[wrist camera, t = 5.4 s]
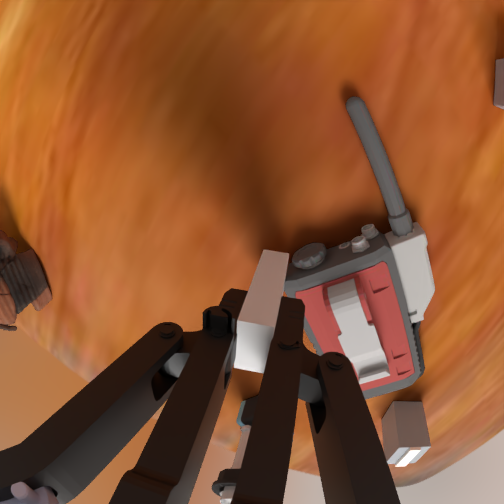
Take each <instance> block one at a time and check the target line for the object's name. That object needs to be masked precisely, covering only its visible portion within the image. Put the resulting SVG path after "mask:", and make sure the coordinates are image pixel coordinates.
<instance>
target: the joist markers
mask: <svg viewBox="0 0 504 504" xmlns="http://www.w3.org/2000/svg"><path fill="white" fill-rule="evenodd" d="M493 105H494V106H497V107H499V108H501V109H504V58H503V59H498V60H496V70H495V91H494V103H493ZM382 432H383V445H384V454H385V457H386V460H387V463H388V464H395V467H398V466H406V465H407V464H408V463H415V462H416V461H417V460H418V459H419V458H420V457H421V456H422V455H423V454H424V453H425V452H426V451H427V450H428V449H429V448H430V447H431V444H430V438H429V433H428V428H427V422H426V417H425V412H424V408H423V403H422V402H409V401H393V402H392V404H391V405H390V407H389V409H388V410H387V412H386V413H385V415H384V417H383V418H382Z"/></svg>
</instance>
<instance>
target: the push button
mask: <svg viewBox="0 0 504 504" xmlns="http://www.w3.org/2000/svg"><path fill="white" fill-rule="evenodd" d="M258 396H259V395H258ZM258 396H255V397H252V398H250V399H247V400H244V401H242V402H241V406H240V410H239V413H238V417H237V424H238V425H240V426H241V428H240V429H241V431H242V434H241V437H240V441H239V445H238V448H237V452H236V455H235V459H234V462H233V466H232V467H231V469H225V470H223V471H221V472H220V473H219V477H218V480H217V481H215V482H214V483H213V485H212V490H213V492H214V493H216V494H217V495H219V496H221V499H220V502H221V504H230V503H231V500H232V498H233V494H234V491H235V487H236V483H237V480H238V476H239V472H240V468H241V464H242V461H243V457H244V453H245V449H246V445H247V441H248V437H249V433H250V429H251V425H252V421H253V417H254V413H255V409H256V404H257V400H258ZM292 442H293V441H292Z"/></svg>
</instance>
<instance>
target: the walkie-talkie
mask: <svg viewBox="0 0 504 504" xmlns="http://www.w3.org/2000/svg"><path fill="white" fill-rule="evenodd" d="M346 109H347V111H348V113H349V115H350V118H351V120H352V122H353V124H354V126H355V129H356V131H357V133H358V135H359V138H360V140H361V142H362V145H363V147H364V149H365V152H366V154H367V157H368V159H369V162H370V164H371V167H372V169H373V172H374V174H375V177H376V179H377V182H378V185H379V187H380V190H381V193H382V196H383V199H384V201H385V204H386V207H387V210H388V213H389V214H388V216H387V217H388V220H389V223H390V226H391V229H392V231H391V232H388V233H386V234H383V233H381V232H379V231H378V230H377V229H375V226H374V224H368V225H365V226H363V227H362V228H361V230H362V233H363V234H361V235H362V236H358V237H355V238H354V239H352V240H351V241H348V242H346V243H343V244H340V245H338V246H335V247H332V248H330V249H326V247H325V245H324V244H322V243H311V244H308V245H306V246H304V247H302V248H300V249H299V250H297V251H296V252H295V253H294V255H293V257H292V263H289V265H288V269H287V273H286V279H285V284H284V291H285V293H286V295H287V297H290V298H296V299H302V301H303V303H304V305H305V317H304V330H305V332H306V334H307V336H308V338H309V340H310V342H311V343H313V347H314V349H316V353H317V354H318V355H319V356H321V355H323V354H324V353H326V352H331V351H332V352H339V353H341V354H344V355H345V356H346V357H348V359H349V360H350V362H351V364H352V366H353V369H354V371H355V374H356V377H357V379H358V382H359V385H360V387H361V390H362V393H363V395H364V398H365V399H369V398H372V397H376V396H380V395H383V394H387V393H390V392H393V391H397V390H400V389H403V388H406V387H409V386H411V385H412V384H413V383H414V382H415V381H416V380H417V379H418V378H419V377H421V376H422V375H423V373H424V369H425V366H424V360H423V354H422V349H421V344H420V338H419V332H418V329H419V327H420V323H421V320H424V317H423V314H424V312H425V310H426V308H427V306H428V304H429V302H430V300H431V298H432V296H433V294H434V291H435V285H434V280H433V275H432V270H431V266H430V261H429V257H428V252H427V248H426V246H427V243H428V242H427V238H426V235H425V231H424V230H423V229H422V228H421V226H420V225H419V224H418V223H417V222H414V223H413V222H412V219H411V216H410V213H409V210H408V209H406V208H405V204H404V201H403V198H402V195H401V192H400V189H399V186H398V184H397V181H396V178H395V175H394V172H393V170H392V167H391V164H390V162H389V159H388V156H387V154H386V151H385V149H384V146H383V144H382V141H381V139H380V136H379V134H378V132H377V129H376V127H375V125H374V122H373V120H372V118H371V116H370V113H369V111H368V109H367V107H366V105H365V102H364V101H363V100H362V99H361V98H359V97H351V98H349V99H348V100H347V102H346ZM412 323H413V324H412Z"/></svg>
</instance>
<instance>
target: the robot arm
mask: <svg viewBox="0 0 504 504" xmlns="http://www.w3.org/2000/svg"><path fill="white" fill-rule="evenodd" d="M288 259H289V253H283V252H277V251H271V250H265V249H264V250H263V252H262V255H261V258H260V260H259V263H258V266H257V269H256V271H255V274H254V277H253V279H252V282H251V285H250V287H249V290H248V291H244V290H239V289H233V288H231V289H230V290H228V291H227V292H226V293H225V294H224V296H223V298H222V301H221V302H220V304H219V306H213V307H209V308H207V309H206V310H205V311H204V312H203V329H202V330H200V331H195V332H183V330H182V328H181V326H179V325H178V324H176V323H172V322H164V323H160V324H158V325H156V326H154V327H153V328H152V329H151V330H150V331H149V332H148V333H146V334H145V335H144V336H143V337H142V338H141V339H139V340H138V341H137V342H136V343H135V344H134V345H132V346H131V347H130V348H129V349H128V350H127V351H126V352H124V353H123V354H122V355H121V356H120V357H119V358H117V359H116V360H115V361H114V362H113V363H112V364H111V365H109V366H108V367H107V368H106V369H105V370H104V371H103V372H101V373H100V374H99V375H98V376H97V377H96V378H95V379H93V380H92V381H91V382H90V383H89V384H88V385H86V386H85V387H84V388H83V389H82V390H81V391H80V392H78V393H77V394H76V395H75V396H74V397H73V398H72V399H70V400H69V401H68V402H67V403H66V404H65V405H64V406H63V407H62V408H60V409H59V410H58V411H57V412H56V413H55V414H53V415H52V416H51V417H50V418H49V419H48V420H47V421H45V422H44V423H43V424H42V425H41V426H40V427H39V428H37V429H36V430H35V431H34V432H33V433H32V434H31V435H30V436H28V437H27V438H26V439H25V440H24V441H23V442H22V443H20V444H18V445H15V446H13V447H10V448H8V449H5V450H2V451H0V504H66V503H68V502H69V501H71V500H72V499H74V498H75V497H76V496H77V495H78V494H80V493H81V492H82V491H83V490H84V489H85V488H86V487H87V486H88V485H89V484H90V483H91V482H92V481H93V480H94V479H95V477H96V476H97V475H98V474H99V473H100V472H101V471H102V470H103V469H104V468H105V467H106V466H107V465H108V464H109V463H110V462H111V461H112V459H113V458H114V457H115V456H116V455H117V454H118V453H119V452H120V451H121V450H122V449H123V448H124V447H125V446H126V444H127V443H128V442H129V441H130V440H131V439H132V438H133V437H134V436H135V435H136V434H137V432H138V431H139V430H140V429H141V428H142V427H143V426H144V425H145V424H146V423H147V421H148V420H149V419H150V418H151V417H152V416H153V415H154V414H155V413H156V411H157V410H158V409H159V408H160V407H161V406H162V405H163V404H164V403H165V401H166V400H167V399H168V400H167V402H166V404H165V406H164V408H163V410H162V412H161V414H160V416H159V418H158V420H157V423H156V424H155V427H154V429H153V431H152V433H151V435H150V437H149V439H148V441H147V443H146V445H145V447H144V449H143V451H142V453H141V456H140V458H139V460H138V462H137V464H136V466H135V467H134V468H133V469H132V470H128V471H127V472H126V473H125V474H124V475H123V477H122V478H121V480H120V482H119V484H118V486H117V488H116V490H115V492H114V494H113V496H112V498H111V500H110V502H109V504H188V502H189V500H190V497H191V494H192V491H193V488H194V485H195V483H196V480H197V477H198V474H199V471H200V468H201V465H202V462H203V460H204V456H205V454H206V451H207V448H208V445H209V442H210V439H211V436H212V433H213V430H214V427H215V424H216V421H217V418H218V415H219V413H220V410H221V407H222V404H223V401H224V398H225V394H226V391H227V388H228V385H229V382H230V379H231V375H232V367H233V364H234V368H238V369H243V370H248V371H254V372H259V373H264V374H263V379H262V383H261V387H260V392H259V396H258V400H257V404H256V409H255V413H254V417H253V421H252V425H251V429H250V433H249V437H248V441H247V445H246V449H245V453H244V457H243V461H242V464H241V468H240V472H239V476H238V480H237V483H236V487H235V491H234V494H233V498H232V500H231V503H230V504H283V498H284V492H285V486H286V481H287V474H288V468H289V461H290V455H291V448H292V441H293V434H294V426H295V418H296V411H297V402H298V398H299V399H301V400H304V401H306V408H307V413H308V418H309V423H310V428H311V432H312V437H313V442H314V447H315V452H316V457H317V462H318V467H319V472H320V477H321V482H322V487H323V492H324V497H325V502H326V504H400V500H399V498H398V494H397V491H396V488H395V485H394V481H393V478H392V475H391V472H390V469H389V466H388V463H387V460H386V457H385V454H384V451H383V448H382V445H381V443H380V440H379V437H378V434H377V431H376V428H375V425H374V423H373V420H372V417H371V414H370V412H369V409H368V406H367V403H366V401H365V398H364V395H363V393H362V390H361V387H360V385H359V382H358V379H357V377H356V374H355V371H354V369H353V366H352V364H351V362H350V360H349V359H348V357H346V356H345V355H344V354H341V353H339V352H332V351H331V352H326V353H324V354H323V355H321V356H319V355H317V354H314V353H312V352H310V351H309V350H308V349H307V348H306V347H305V346H304V344H303V328H304V317H305V305H304V303H303V301H302V299H296V298H290V297H284V296H283V291H284V284H285V278H286V272H287V265H288Z"/></svg>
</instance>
